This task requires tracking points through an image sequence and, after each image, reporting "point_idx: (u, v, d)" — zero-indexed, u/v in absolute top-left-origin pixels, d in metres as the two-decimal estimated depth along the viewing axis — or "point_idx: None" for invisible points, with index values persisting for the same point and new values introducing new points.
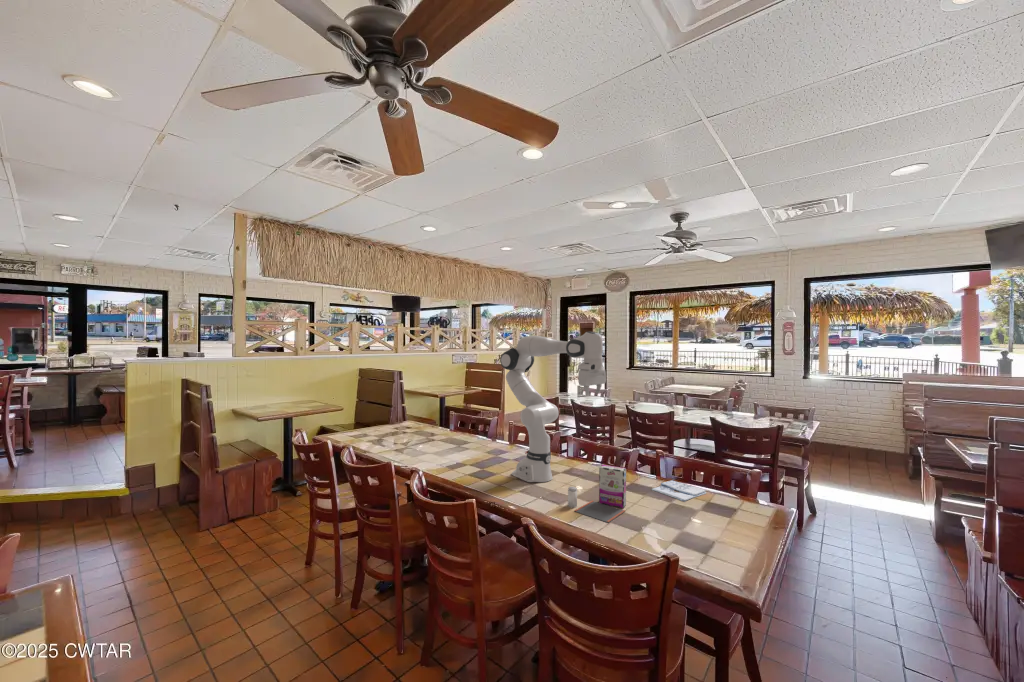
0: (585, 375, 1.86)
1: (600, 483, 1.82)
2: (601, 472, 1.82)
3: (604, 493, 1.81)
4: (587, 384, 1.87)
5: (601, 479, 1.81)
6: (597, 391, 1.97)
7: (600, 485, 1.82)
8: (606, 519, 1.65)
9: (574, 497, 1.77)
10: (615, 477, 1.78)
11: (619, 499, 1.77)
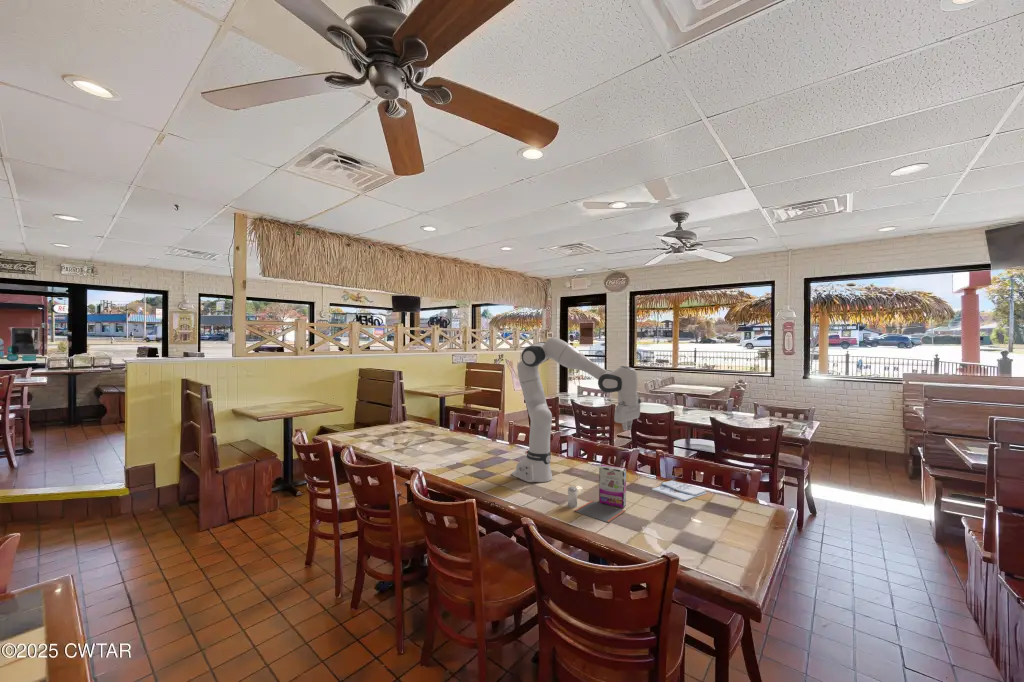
0: None
1: (600, 483, 1.82)
2: (601, 472, 1.82)
3: (604, 493, 1.81)
4: None
5: (601, 479, 1.81)
6: None
7: (600, 485, 1.82)
8: (606, 519, 1.65)
9: (574, 497, 1.77)
10: (615, 477, 1.78)
11: (619, 499, 1.77)
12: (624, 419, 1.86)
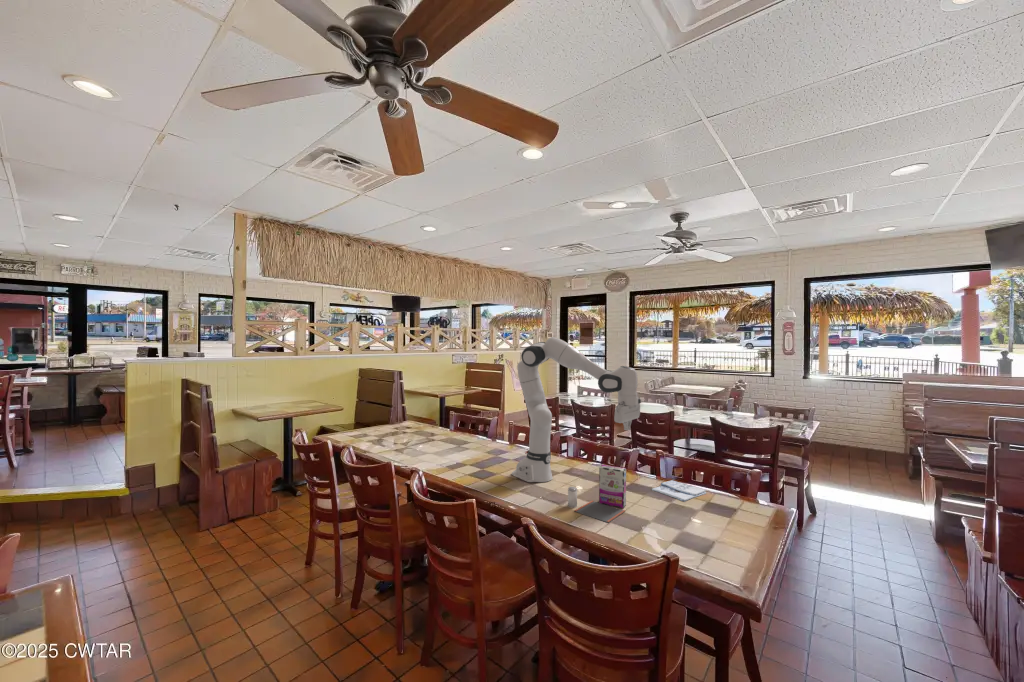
0: None
1: (600, 483, 1.82)
2: (601, 472, 1.82)
3: (604, 493, 1.81)
4: None
5: (601, 479, 1.81)
6: None
7: (600, 485, 1.82)
8: (606, 519, 1.65)
9: (574, 497, 1.77)
10: (615, 477, 1.78)
11: (619, 499, 1.77)
12: (624, 419, 1.86)
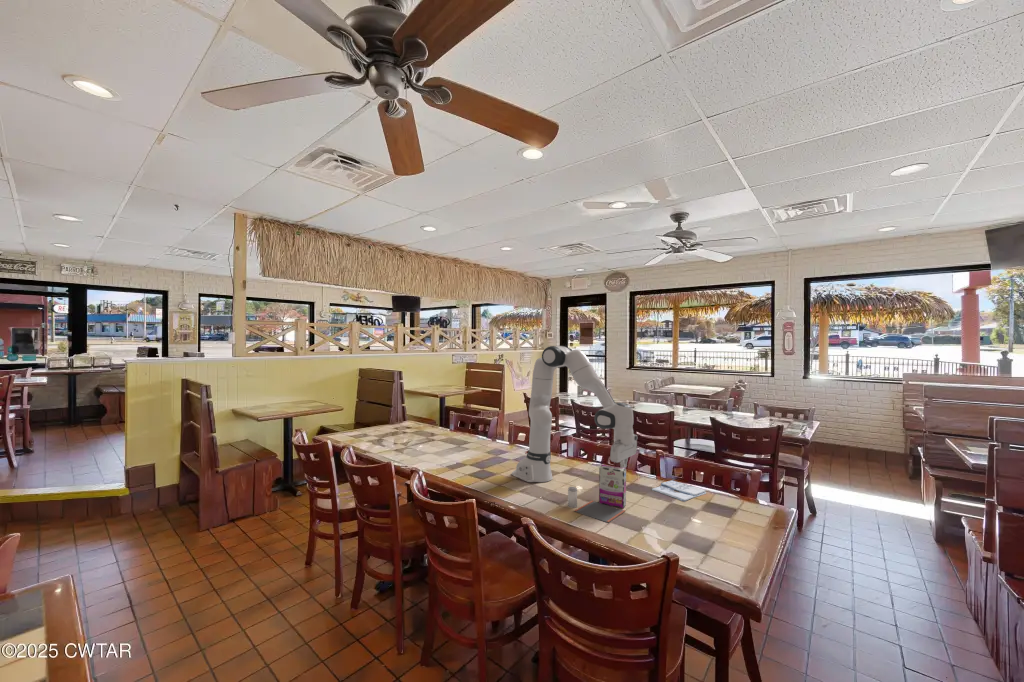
0: None
1: (600, 483, 1.82)
2: (601, 472, 1.82)
3: (604, 493, 1.81)
4: None
5: (601, 479, 1.81)
6: None
7: (600, 485, 1.82)
8: (606, 519, 1.65)
9: (574, 497, 1.77)
10: (615, 477, 1.78)
11: (619, 499, 1.77)
12: (620, 458, 1.83)
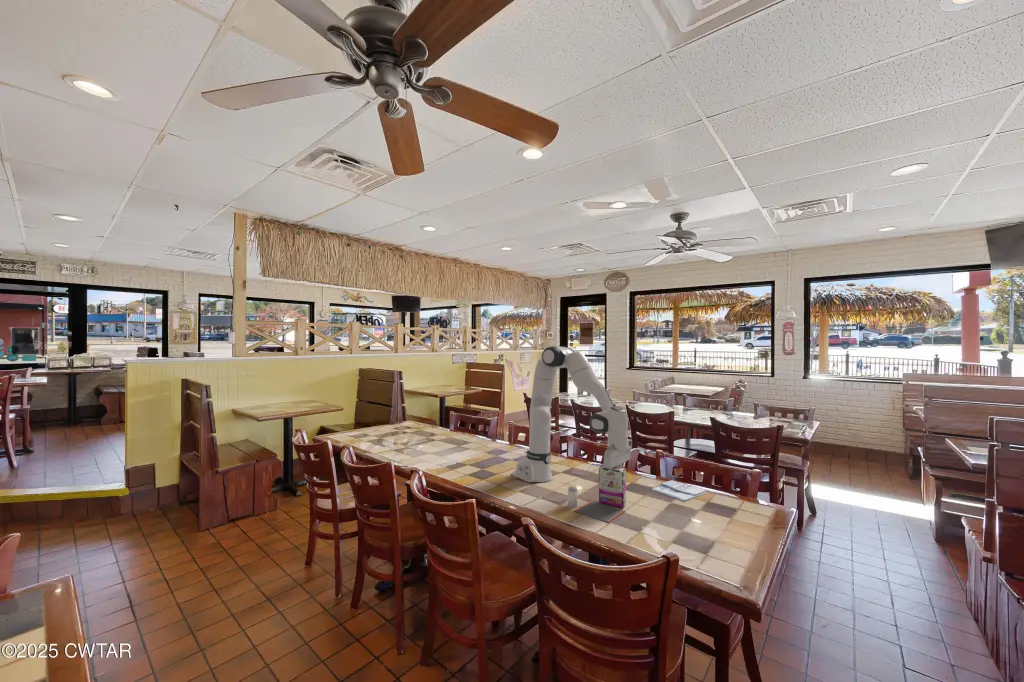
0: None
1: (599, 484, 1.81)
2: (600, 472, 1.81)
3: (604, 493, 1.80)
4: None
5: (601, 480, 1.81)
6: None
7: (600, 485, 1.81)
8: (606, 519, 1.65)
9: (574, 497, 1.77)
10: (615, 478, 1.78)
11: (619, 499, 1.77)
12: (614, 464, 1.78)
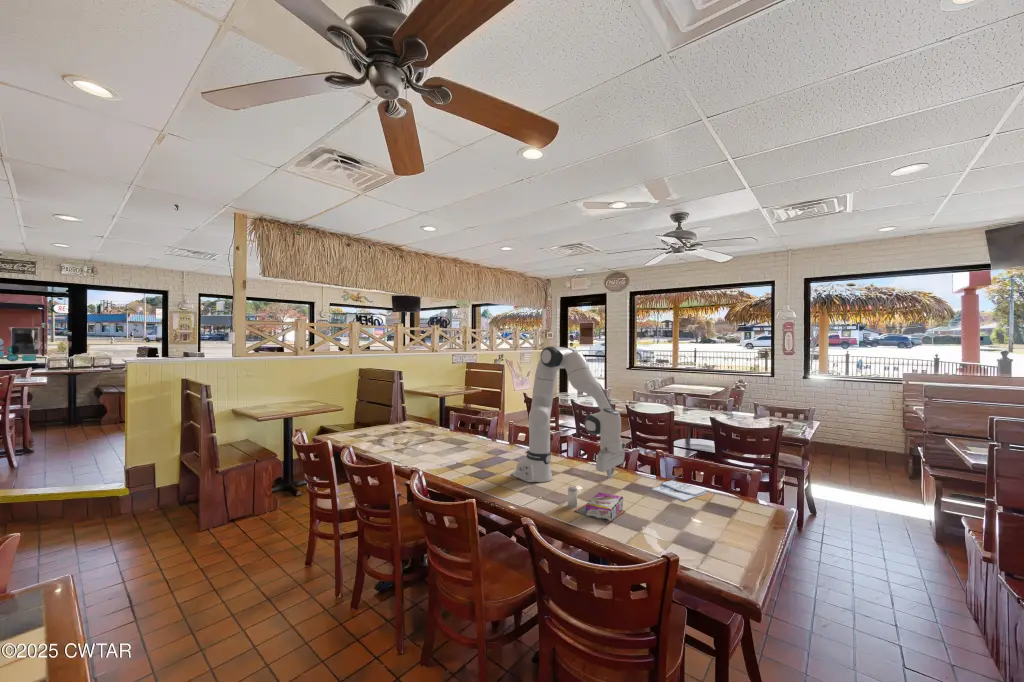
0: None
1: None
2: None
3: None
4: None
5: None
6: None
7: None
8: None
9: (574, 497, 1.77)
10: None
11: None
12: (607, 467, 1.73)
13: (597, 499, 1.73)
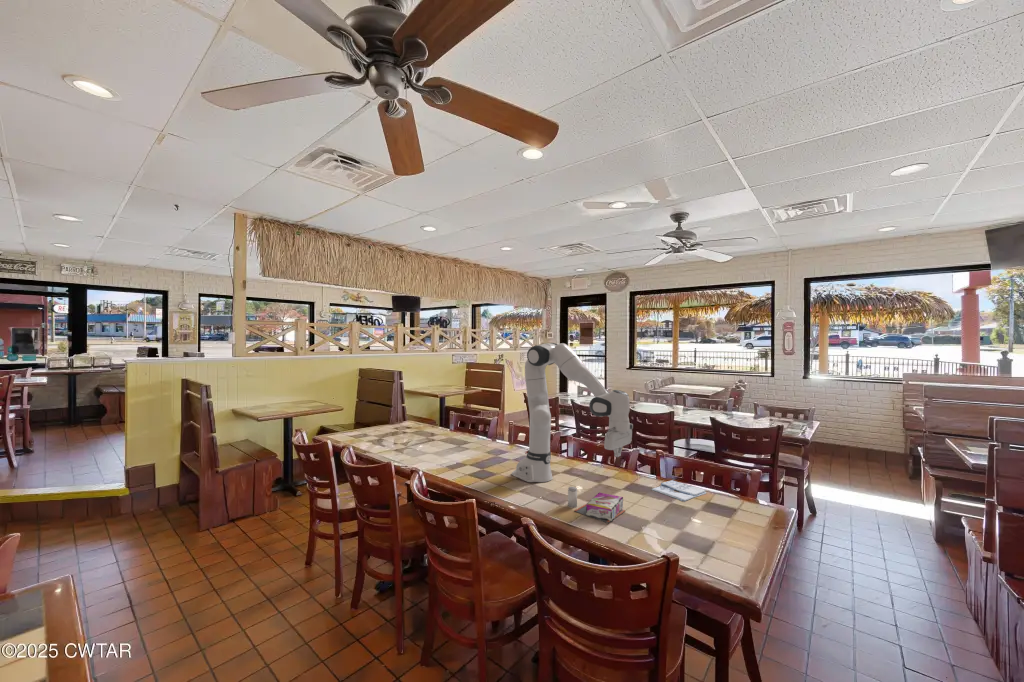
0: None
1: None
2: None
3: None
4: None
5: None
6: None
7: None
8: None
9: (574, 497, 1.77)
10: None
11: None
12: (615, 446, 1.79)
13: (598, 499, 1.73)
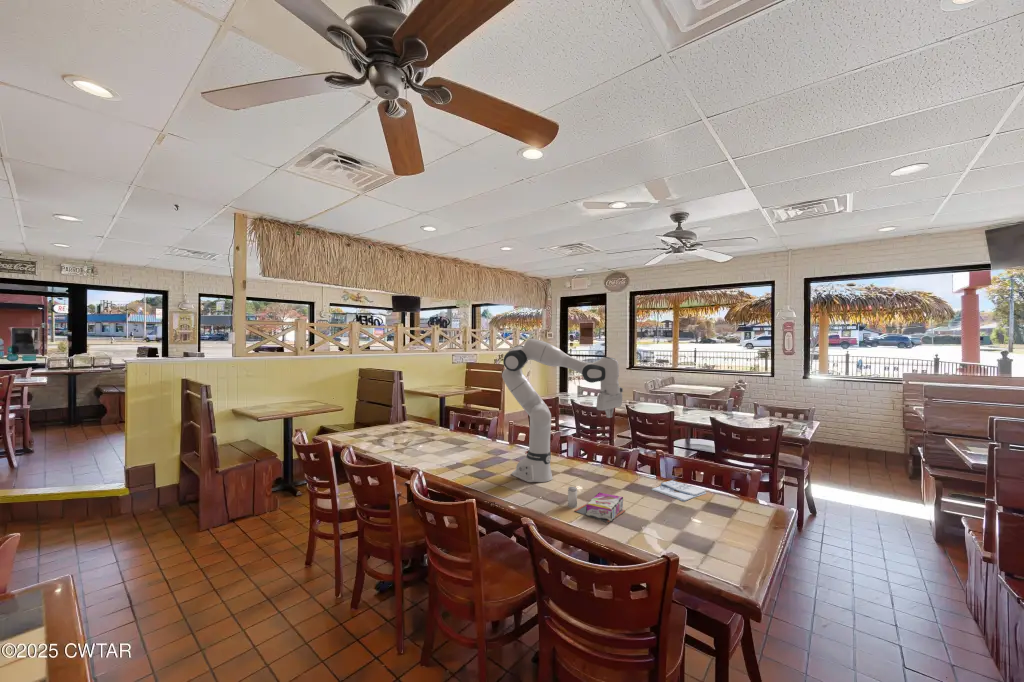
0: None
1: None
2: None
3: None
4: None
5: None
6: None
7: None
8: None
9: (574, 497, 1.77)
10: None
11: None
12: (606, 407, 1.95)
13: (598, 499, 1.73)
